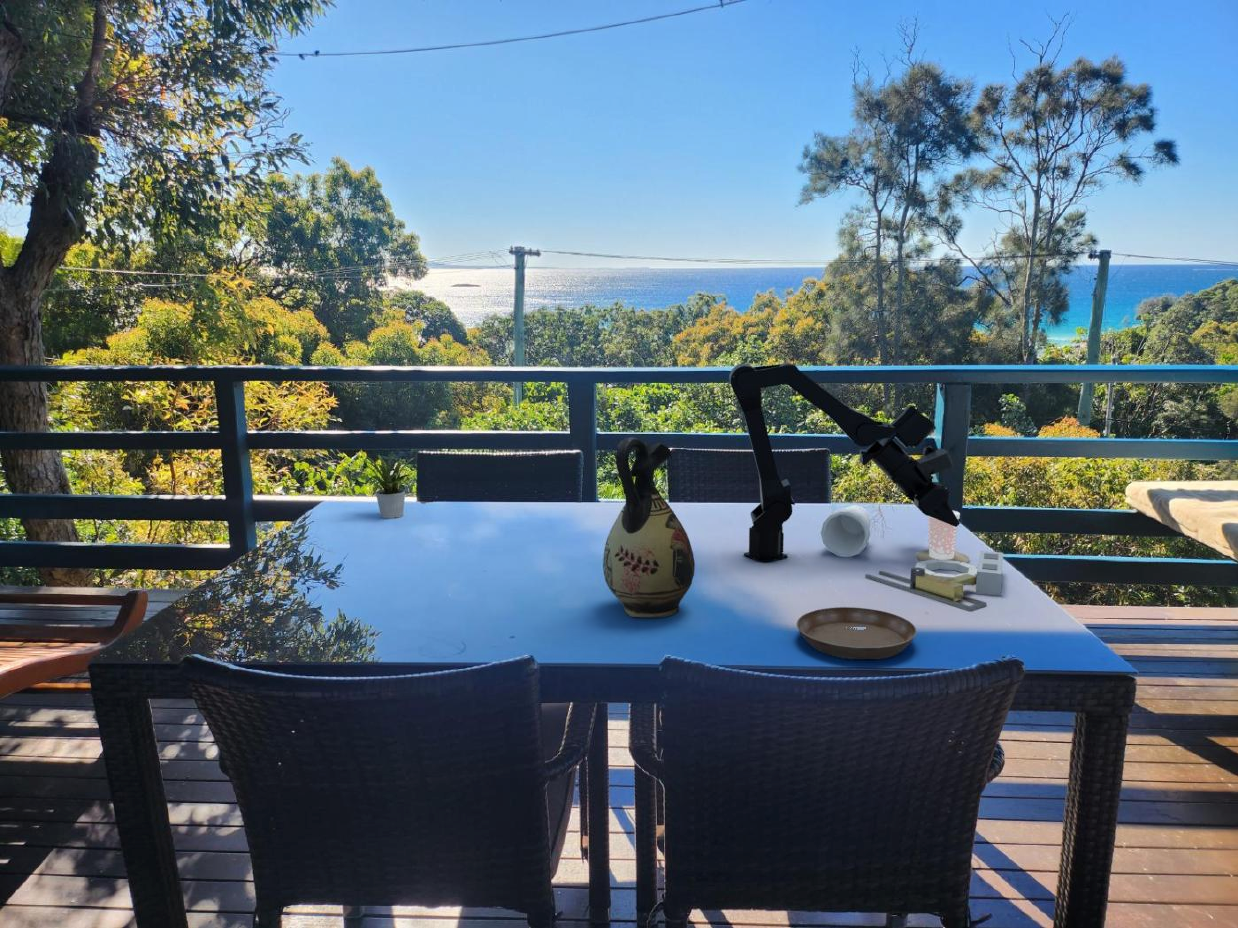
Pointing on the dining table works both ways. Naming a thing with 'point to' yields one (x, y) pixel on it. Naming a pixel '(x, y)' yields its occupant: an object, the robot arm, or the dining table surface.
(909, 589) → the rail
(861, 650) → the plant saucer
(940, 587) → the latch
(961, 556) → the coaster
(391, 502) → the house plant
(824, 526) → the foam cup
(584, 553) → the dining table surface
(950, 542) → the beverage cup
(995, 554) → the socket
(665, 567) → the ceramic jug
